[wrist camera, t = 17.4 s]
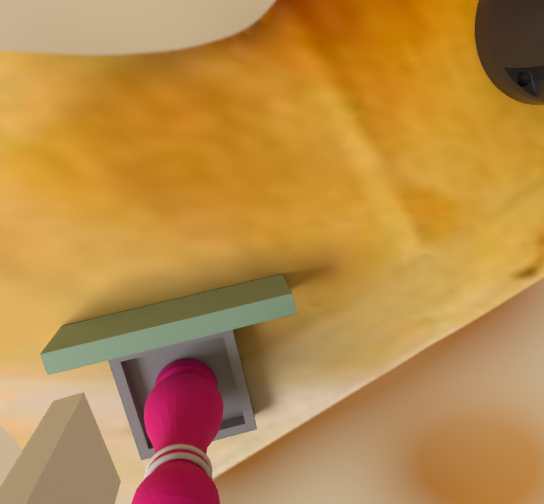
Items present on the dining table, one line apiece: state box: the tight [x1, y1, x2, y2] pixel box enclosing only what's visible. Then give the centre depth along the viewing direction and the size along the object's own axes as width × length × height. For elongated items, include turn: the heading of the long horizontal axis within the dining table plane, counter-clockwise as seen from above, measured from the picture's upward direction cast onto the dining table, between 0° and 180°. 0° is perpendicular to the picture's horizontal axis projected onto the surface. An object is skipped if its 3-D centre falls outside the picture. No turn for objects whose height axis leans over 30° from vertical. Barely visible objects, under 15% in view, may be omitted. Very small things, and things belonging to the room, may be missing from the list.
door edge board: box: [40, 274, 296, 375], centre depth 43 cm, size 22×2×6 cm, turn 101°
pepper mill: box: [132, 359, 224, 504], centre depth 37 cm, size 7×7×20 cm
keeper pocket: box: [108, 330, 257, 460], centre depth 46 cm, size 12×12×2 cm
